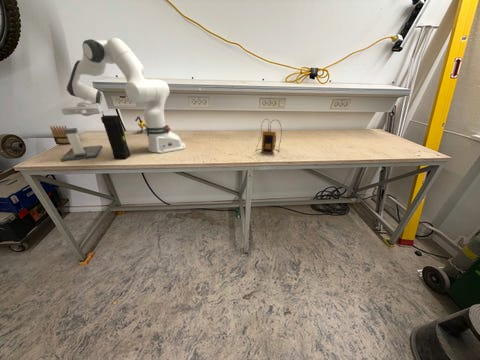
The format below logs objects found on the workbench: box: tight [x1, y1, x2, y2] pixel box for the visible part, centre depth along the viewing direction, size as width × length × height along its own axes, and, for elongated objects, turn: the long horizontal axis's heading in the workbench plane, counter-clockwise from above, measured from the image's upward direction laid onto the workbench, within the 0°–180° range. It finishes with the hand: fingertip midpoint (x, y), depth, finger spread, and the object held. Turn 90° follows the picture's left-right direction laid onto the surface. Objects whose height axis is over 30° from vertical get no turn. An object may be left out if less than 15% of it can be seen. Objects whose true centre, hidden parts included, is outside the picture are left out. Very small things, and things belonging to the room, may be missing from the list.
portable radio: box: [100, 110, 131, 160], centre depth 105 cm, size 8×6×25 cm
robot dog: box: [134, 115, 146, 134], centre depth 151 cm, size 6×18×13 cm, turn 176°
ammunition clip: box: [49, 125, 71, 146], centre depth 126 cm, size 11×2×12 cm, turn 91°
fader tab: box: [63, 127, 86, 156], centre depth 106 cm, size 5×4×14 cm
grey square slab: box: [59, 144, 104, 163], centre depth 114 cm, size 16×18×2 cm
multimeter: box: [255, 118, 283, 154], centre depth 118 cm, size 15×10×20 cm
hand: (79, 112), depth 118 cm, fingers closed
